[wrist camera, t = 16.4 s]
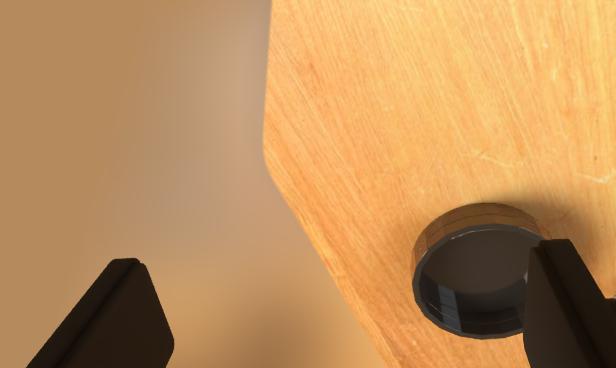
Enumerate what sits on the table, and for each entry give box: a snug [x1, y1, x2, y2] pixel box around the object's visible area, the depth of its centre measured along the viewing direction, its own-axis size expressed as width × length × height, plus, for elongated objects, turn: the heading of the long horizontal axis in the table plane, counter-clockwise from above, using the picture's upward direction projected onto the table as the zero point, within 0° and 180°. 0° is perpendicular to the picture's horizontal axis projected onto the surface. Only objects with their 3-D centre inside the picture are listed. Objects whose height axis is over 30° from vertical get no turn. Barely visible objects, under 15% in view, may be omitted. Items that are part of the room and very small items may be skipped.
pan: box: [411, 203, 552, 340], centre depth 44 cm, size 13×13×4 cm
